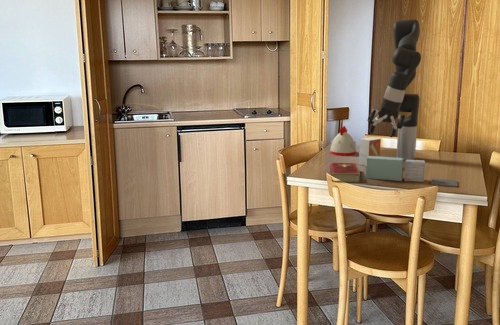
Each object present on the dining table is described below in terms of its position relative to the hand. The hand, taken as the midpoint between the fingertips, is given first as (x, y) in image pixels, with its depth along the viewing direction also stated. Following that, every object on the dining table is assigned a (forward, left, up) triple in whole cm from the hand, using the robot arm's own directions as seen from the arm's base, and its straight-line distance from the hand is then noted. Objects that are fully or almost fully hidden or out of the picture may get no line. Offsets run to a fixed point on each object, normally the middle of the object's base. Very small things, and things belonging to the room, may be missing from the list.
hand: (380, 135), depth 200 cm
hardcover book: (-6, -16, -21) cm, 27 cm away
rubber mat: (-6, +26, -20) cm, 34 cm away
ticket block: (-7, +2, -20) cm, 21 cm away
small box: (-31, -8, -20) cm, 38 cm away
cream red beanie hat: (-54, -25, -21) cm, 63 cm away
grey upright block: (-7, +14, -20) cm, 26 cm away
